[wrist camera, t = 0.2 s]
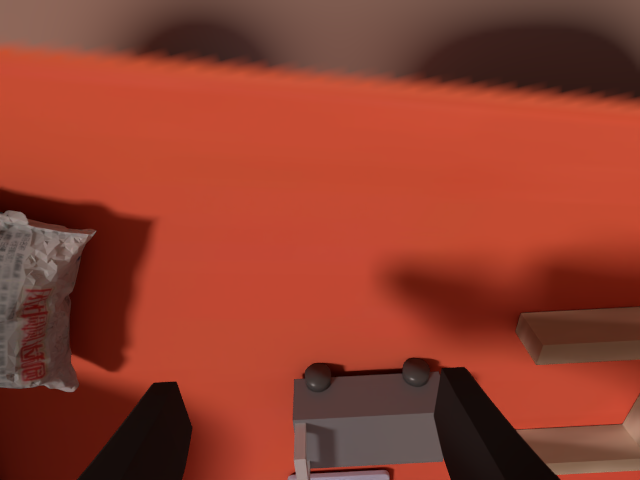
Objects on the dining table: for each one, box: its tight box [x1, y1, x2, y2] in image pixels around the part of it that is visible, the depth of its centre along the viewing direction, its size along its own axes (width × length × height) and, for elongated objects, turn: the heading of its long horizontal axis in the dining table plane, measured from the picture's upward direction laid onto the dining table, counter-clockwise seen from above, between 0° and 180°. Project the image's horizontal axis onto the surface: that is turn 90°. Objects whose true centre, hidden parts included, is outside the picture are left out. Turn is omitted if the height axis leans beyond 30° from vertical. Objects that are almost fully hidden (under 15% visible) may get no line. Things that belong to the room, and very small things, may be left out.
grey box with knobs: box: [293, 358, 443, 480], centre depth 24 cm, size 6×9×5 cm
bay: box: [515, 307, 640, 475], centre depth 25 cm, size 13×12×2 cm
